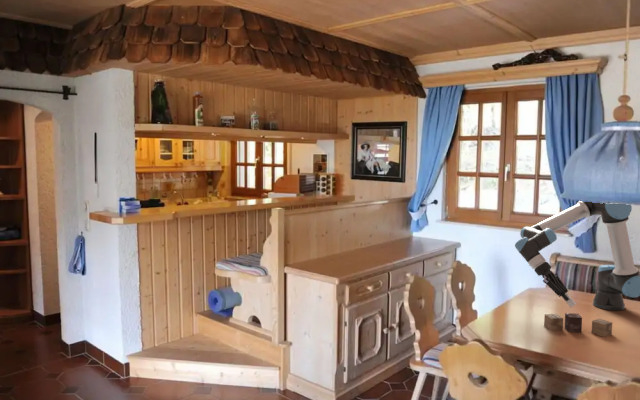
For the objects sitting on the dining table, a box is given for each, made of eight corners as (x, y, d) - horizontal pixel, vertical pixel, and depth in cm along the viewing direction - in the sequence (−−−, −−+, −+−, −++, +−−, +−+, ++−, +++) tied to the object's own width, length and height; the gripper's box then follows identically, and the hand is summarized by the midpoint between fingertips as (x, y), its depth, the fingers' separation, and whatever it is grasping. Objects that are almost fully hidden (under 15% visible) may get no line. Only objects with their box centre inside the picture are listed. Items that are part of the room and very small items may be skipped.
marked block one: (599, 330, 235) (599, 318, 235) (611, 334, 230) (612, 321, 229) (591, 332, 232) (592, 320, 232) (603, 337, 227) (604, 324, 226)
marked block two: (555, 325, 241) (556, 313, 241) (562, 330, 235) (563, 317, 235) (544, 326, 241) (544, 313, 240) (550, 330, 235) (551, 318, 234)
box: (581, 332, 232) (582, 317, 231) (567, 331, 233) (568, 316, 233) (577, 328, 238) (578, 313, 237) (564, 327, 239) (564, 312, 239)
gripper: (540, 267, 252) (572, 306, 241) (528, 271, 243) (562, 312, 233) (551, 259, 247) (584, 298, 237) (540, 263, 238) (574, 304, 228)
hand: (573, 305), depth 235 cm, fingers closed
